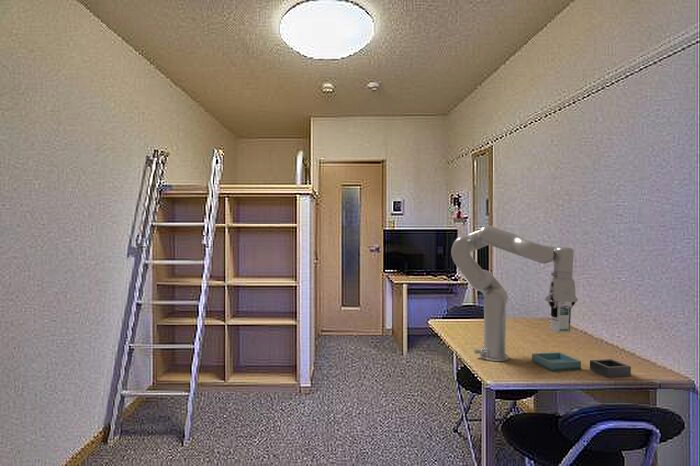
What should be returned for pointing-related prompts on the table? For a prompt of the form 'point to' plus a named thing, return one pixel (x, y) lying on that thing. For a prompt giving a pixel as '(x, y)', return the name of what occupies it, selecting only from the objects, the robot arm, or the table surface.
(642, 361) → the table surface
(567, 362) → the tray
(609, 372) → the holder
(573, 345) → the table surface
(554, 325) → the syrup box
